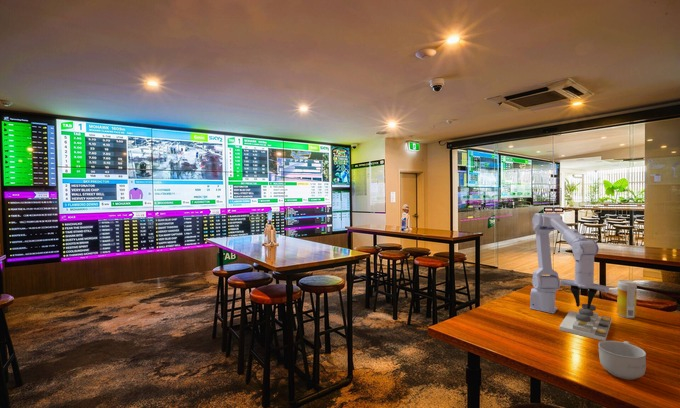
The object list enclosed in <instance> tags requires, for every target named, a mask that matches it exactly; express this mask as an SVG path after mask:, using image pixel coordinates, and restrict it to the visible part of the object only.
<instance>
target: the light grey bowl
mask: <svg viewBox="0 0 680 408" xmlns="http://www.w3.org/2000/svg"><path fill="white" fill-rule="evenodd" d="M597 346H598V347H597V348H598V355H599V362H600V363H599V364H600V365H601V366H602V367H603V369H604V370H606V371H607V372H608V373H609V374H611V375H613V376H614V377H617V378H620V379H623V380H629V381H630V380H631V381H632V380H636V379H639V378H642V377H643V376H644V375H645V373H646V369H647V360H646V358H647V353H646V351H645V350H644V349H643V348H640V347H639V346H637V345H635V344H634V345H633V344H632V343H631V342H630V341H626V340H624V341H617V340H606V341H599V342H598V344H597Z"/></svg>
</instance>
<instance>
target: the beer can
mask: <svg viewBox="0 0 680 408" xmlns="http://www.w3.org/2000/svg"><path fill="white" fill-rule="evenodd" d="M637 286H638V285H637V283H636V282H635V281H633V280H629V279H628V280H627V279H626V280H625V279H619V281H618V282H617V292H616V293H617V296H616V297H617V299H616V301H617V302H616V314H617V315H618V316H619V317H621V318H625V319H634V318H635V317H636V316H637V293H638V292H637V289H638V287H637Z"/></svg>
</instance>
